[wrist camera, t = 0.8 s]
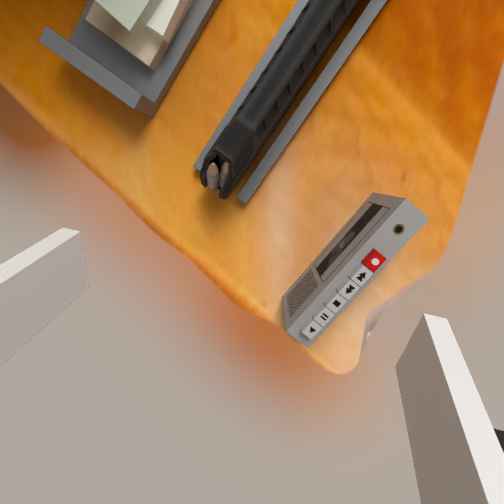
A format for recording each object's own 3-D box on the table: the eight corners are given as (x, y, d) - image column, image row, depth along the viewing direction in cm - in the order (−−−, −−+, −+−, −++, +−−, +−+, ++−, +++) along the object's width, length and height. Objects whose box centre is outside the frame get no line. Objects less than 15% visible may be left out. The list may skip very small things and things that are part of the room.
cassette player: (372, 192, 36) (410, 199, 26) (391, 207, 36) (435, 220, 27) (282, 296, 39) (286, 336, 30) (299, 309, 40) (309, 354, 30)
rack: (64, 72, 35) (31, 56, 30) (210, -221, 29) (197, -301, 24) (246, 202, 37) (243, 206, 32) (417, -44, 31) (445, -85, 26)
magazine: (460, -257, 21) (187, 125, 19) (499, -221, 21) (235, 159, 19) (348, -26, 38) (199, 187, 36) (371, -8, 38) (224, 204, 36)
